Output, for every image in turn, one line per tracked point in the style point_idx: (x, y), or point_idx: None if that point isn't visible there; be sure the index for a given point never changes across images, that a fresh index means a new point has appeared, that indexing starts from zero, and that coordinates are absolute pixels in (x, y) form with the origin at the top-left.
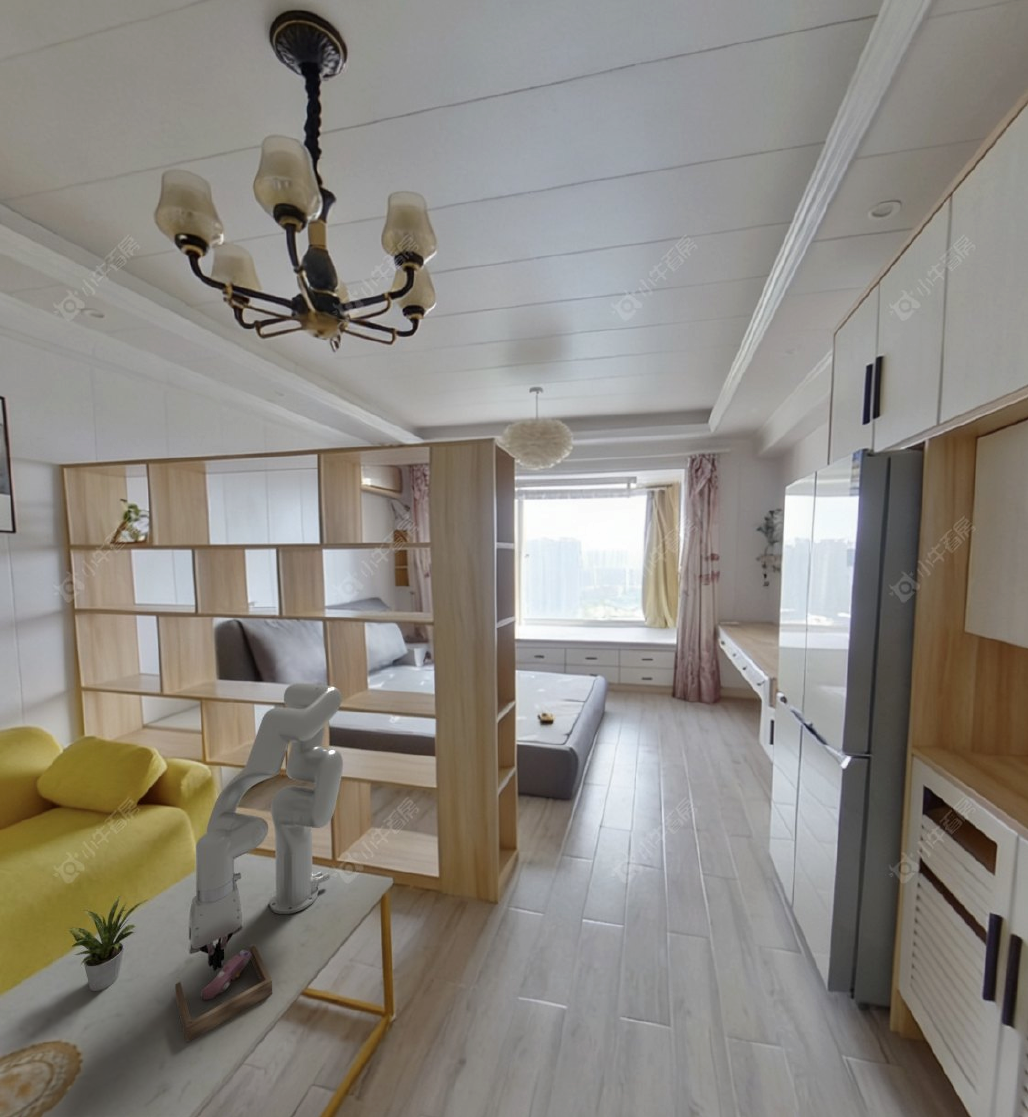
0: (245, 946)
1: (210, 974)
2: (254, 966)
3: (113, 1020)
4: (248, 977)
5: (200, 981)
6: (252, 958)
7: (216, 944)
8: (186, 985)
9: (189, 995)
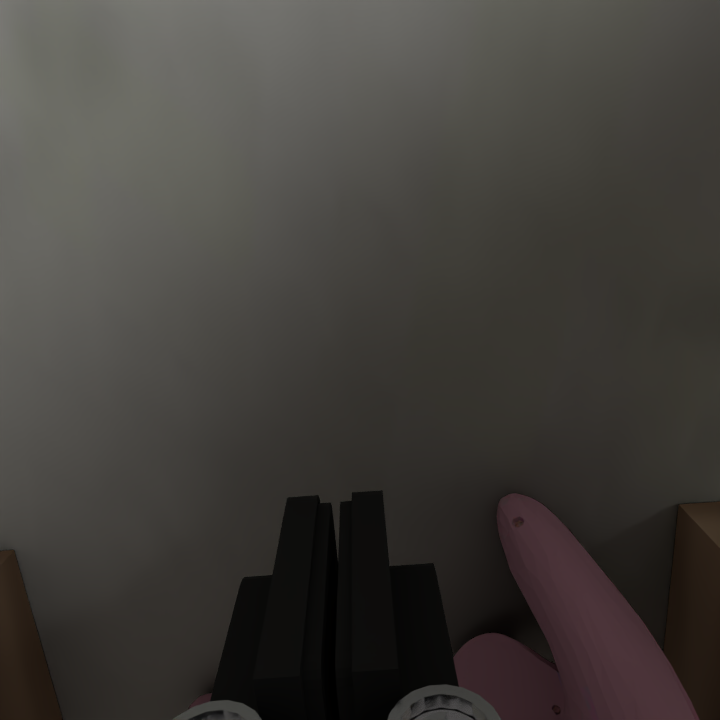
0: (714, 265)
1: (290, 460)
2: (674, 661)
3: None
4: None
5: (192, 492)
6: (704, 630)
7: (359, 681)
8: (59, 458)
9: (95, 599)
